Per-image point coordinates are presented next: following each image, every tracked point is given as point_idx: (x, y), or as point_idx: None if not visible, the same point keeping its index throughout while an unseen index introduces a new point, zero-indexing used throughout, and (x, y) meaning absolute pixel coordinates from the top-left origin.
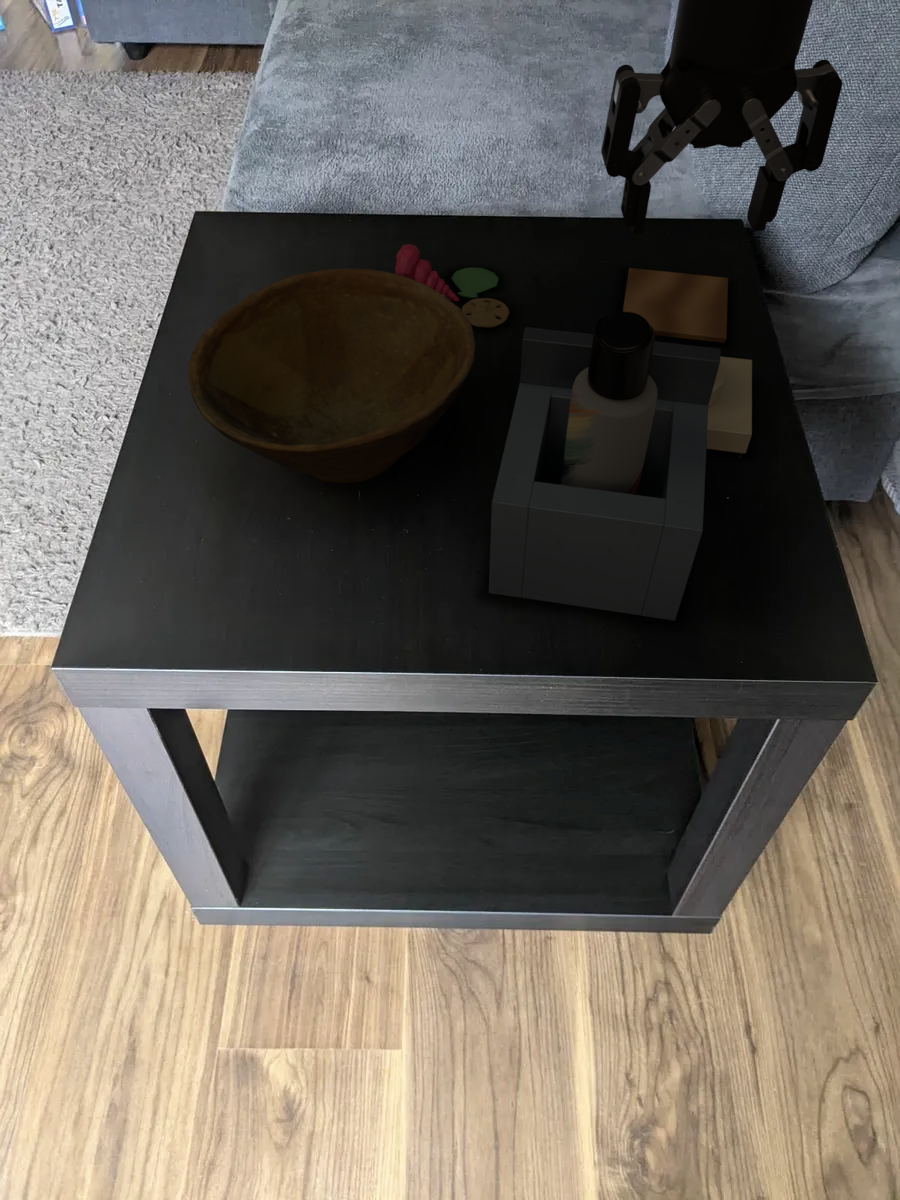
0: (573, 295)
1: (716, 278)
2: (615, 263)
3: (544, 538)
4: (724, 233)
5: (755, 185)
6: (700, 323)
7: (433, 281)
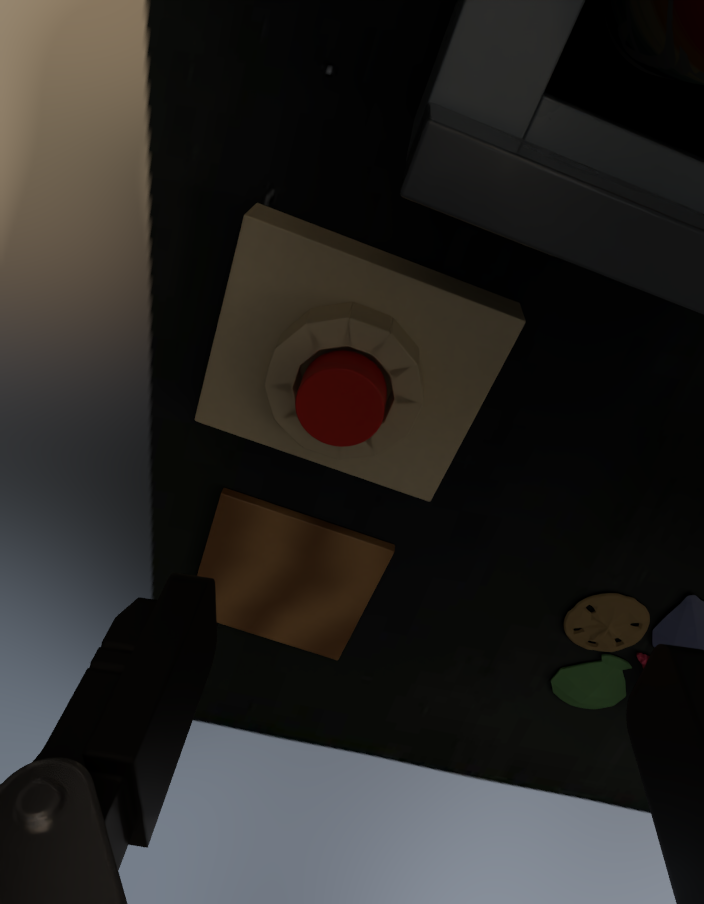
0: (442, 628)
1: None
2: (352, 673)
3: None
4: None
5: (176, 759)
6: (256, 532)
7: None
